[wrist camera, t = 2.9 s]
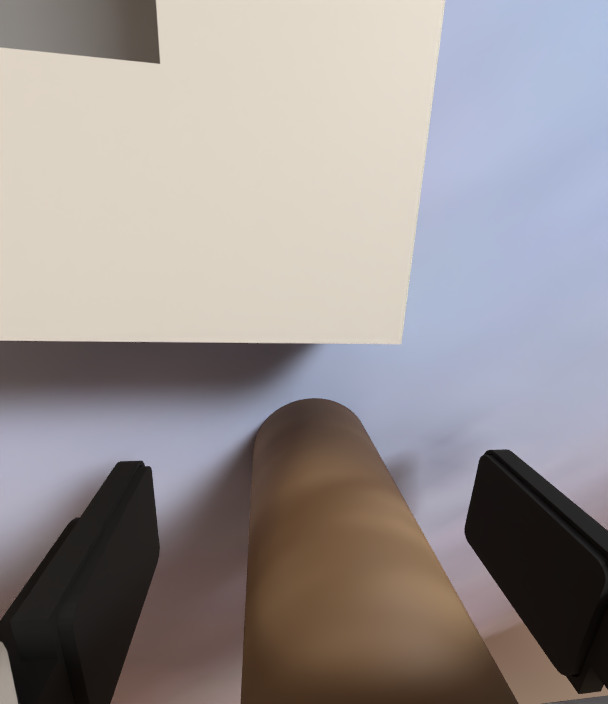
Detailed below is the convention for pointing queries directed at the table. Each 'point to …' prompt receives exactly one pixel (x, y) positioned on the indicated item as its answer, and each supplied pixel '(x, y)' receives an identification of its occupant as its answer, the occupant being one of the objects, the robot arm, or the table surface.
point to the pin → (348, 579)
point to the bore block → (212, 168)
